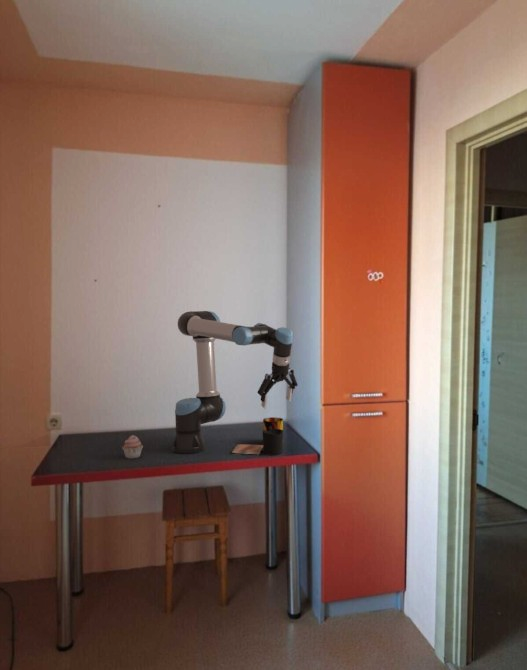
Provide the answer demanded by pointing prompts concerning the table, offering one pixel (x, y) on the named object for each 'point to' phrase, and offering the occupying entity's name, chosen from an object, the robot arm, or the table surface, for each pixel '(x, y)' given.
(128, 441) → the cupcake
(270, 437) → the pen holder
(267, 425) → the mug
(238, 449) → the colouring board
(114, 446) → the table surface
